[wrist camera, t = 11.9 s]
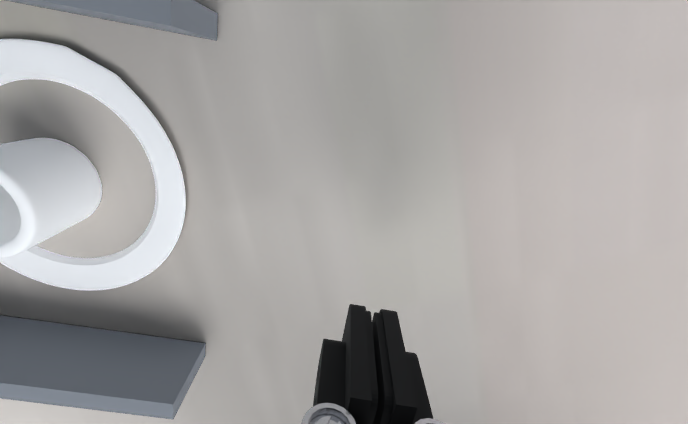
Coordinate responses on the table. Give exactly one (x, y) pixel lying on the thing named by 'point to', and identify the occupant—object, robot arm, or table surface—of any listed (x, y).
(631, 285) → the table surface
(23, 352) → the box
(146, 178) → the table surface
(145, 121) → the candle holder
